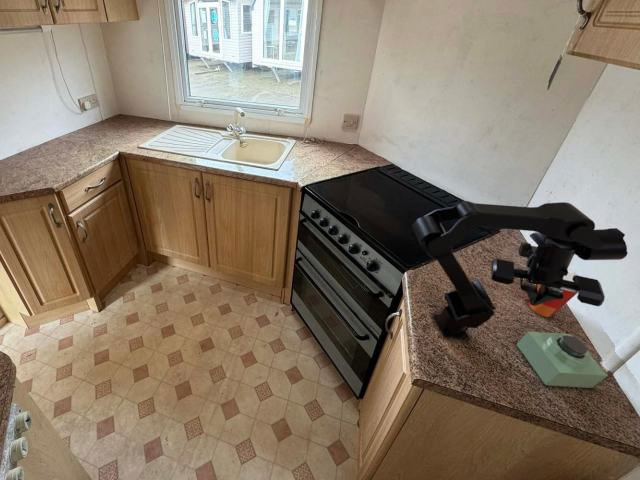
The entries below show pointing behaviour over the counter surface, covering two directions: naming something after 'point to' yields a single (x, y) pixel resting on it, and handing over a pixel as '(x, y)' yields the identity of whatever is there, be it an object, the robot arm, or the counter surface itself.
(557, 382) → the green flat block
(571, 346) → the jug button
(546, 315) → the paper cup
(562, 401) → the counter surface
